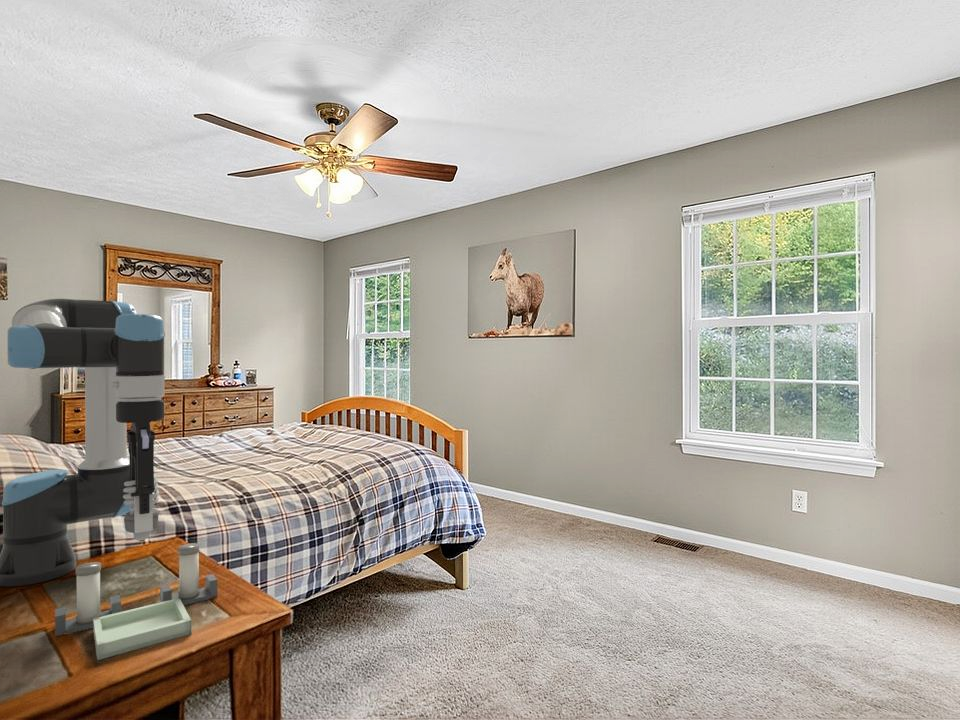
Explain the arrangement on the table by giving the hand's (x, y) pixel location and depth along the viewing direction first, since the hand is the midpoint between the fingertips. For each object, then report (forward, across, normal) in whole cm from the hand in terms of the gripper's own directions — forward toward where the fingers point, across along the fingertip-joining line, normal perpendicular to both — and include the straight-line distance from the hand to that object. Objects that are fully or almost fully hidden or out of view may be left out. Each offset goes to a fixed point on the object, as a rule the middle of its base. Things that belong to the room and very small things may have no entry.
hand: (141, 526), depth 100 cm
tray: (+19, 0, 0) cm, 19 cm away
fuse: (+19, -11, -8) cm, 23 cm away
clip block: (+19, -11, +1) cm, 22 cm away
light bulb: (+3, 0, 0) cm, 3 cm away
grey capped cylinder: (+19, -11, +10) cm, 24 cm away
